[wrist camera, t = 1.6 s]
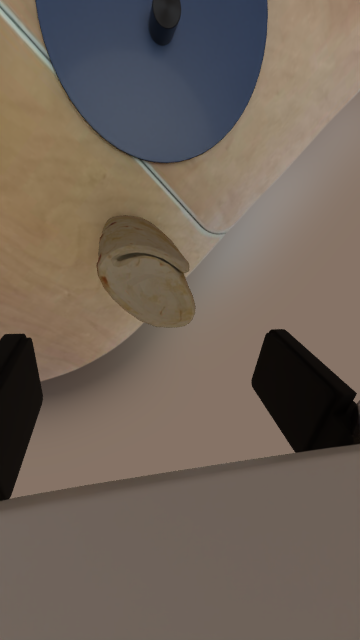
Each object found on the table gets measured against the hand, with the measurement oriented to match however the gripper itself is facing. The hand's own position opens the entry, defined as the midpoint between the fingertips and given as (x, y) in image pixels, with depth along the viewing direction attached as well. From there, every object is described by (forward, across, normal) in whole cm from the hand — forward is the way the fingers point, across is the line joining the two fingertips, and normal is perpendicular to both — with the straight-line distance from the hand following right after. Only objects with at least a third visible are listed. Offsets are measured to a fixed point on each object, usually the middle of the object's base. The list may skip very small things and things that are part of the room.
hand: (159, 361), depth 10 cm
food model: (+29, -1, +1) cm, 29 cm away
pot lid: (+28, -3, -20) cm, 35 cm away
